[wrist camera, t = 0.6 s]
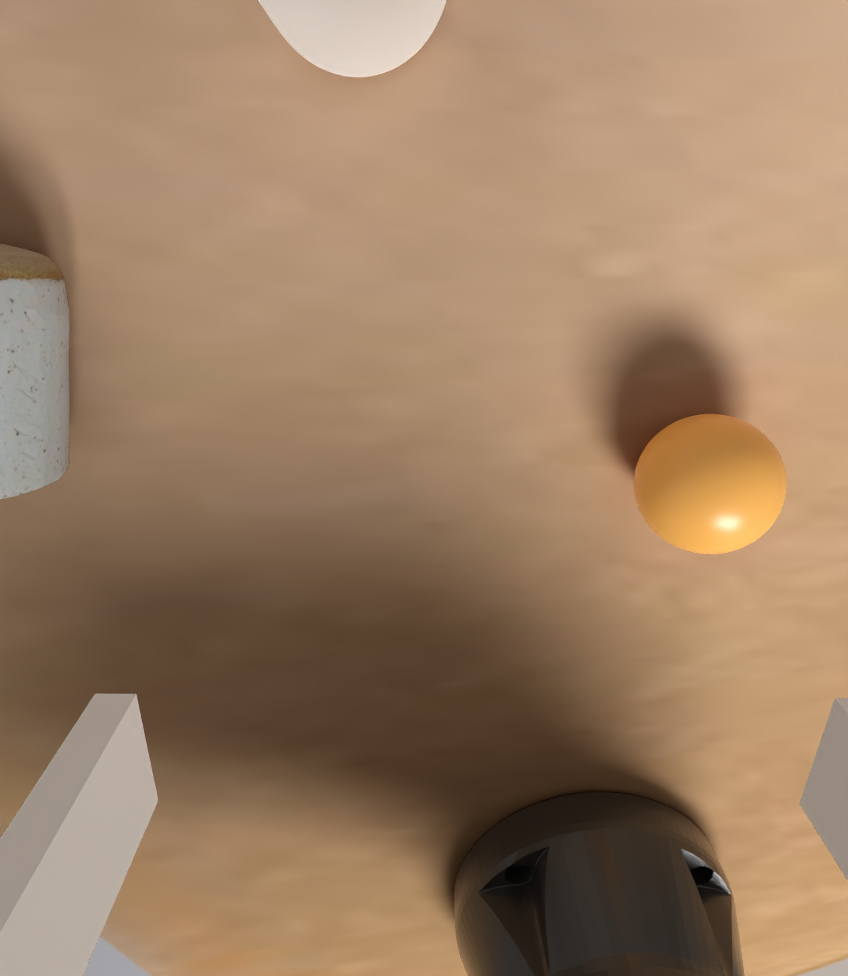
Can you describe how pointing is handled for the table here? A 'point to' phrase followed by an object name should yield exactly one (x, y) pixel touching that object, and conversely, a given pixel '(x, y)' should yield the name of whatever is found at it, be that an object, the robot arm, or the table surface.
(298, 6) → the can
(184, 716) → the table surface
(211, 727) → the table surface
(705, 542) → the ball
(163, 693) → the table surface
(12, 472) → the grey lying cylinder
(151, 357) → the table surface
